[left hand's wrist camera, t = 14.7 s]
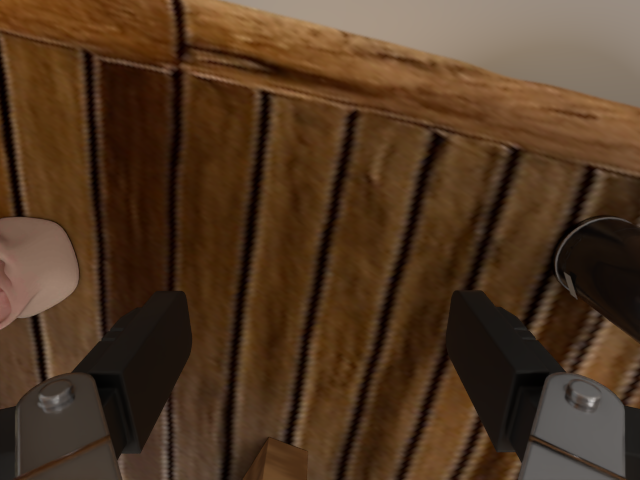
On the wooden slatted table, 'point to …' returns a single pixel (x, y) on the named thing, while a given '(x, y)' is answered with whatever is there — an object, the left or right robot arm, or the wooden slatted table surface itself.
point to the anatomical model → (34, 267)
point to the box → (278, 462)
